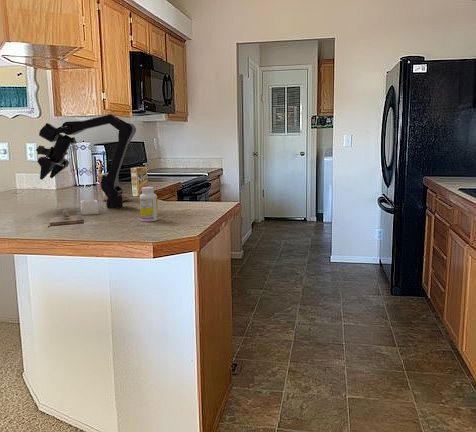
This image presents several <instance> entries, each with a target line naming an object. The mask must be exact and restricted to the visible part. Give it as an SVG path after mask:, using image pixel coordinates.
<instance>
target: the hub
mask: <svg viewBox="0 0 476 432" xmlns="http://www.w3.org/2000/svg"><path fill="white" fill-rule="evenodd" d="M69 213H70V212H69V211H68V210H67V209H65V210H63V211H62V216H55V217H54V216H52V217H48V220H49V221H48V222H49V227H60V226H71V225H73V226H75V225H82V224H83V225H84V224H85V222H84V218H83V216H81V215H78V214H77V215H69Z"/></svg>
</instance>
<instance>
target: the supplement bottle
mask: <svg viewBox="0 0 476 432" xmlns="http://www.w3.org/2000/svg"><path fill="white" fill-rule="evenodd" d="M158 207H159V206H158V195H157V194H156V193H155V187H154V186H148V187H143V188H142V194H141V195H140V196H139V208H140V209H139V210H140V211H139V212H140V220H141V221H142V222H147V223H149V222H156V221H158V220H159V209H158Z"/></svg>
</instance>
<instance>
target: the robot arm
mask: <svg viewBox="0 0 476 432" xmlns="http://www.w3.org/2000/svg"><path fill="white" fill-rule="evenodd" d="M106 125H111V126H112V127H113V128H115V130H118V133H117V134H118V135H117V137H118V143H117V145H116V149H115V152H114V155H113V157H112V160H111V163H110V167H109V170H108V172H107V173H108V174H105V173H104V174H105V175H103V177H102V181H101V183H99V185H100V184H101V185H100V189H101V191H102V192H103V193H104V192H105V193H104V195H105V194H106V196H107V199H106V200H105V205H106V207H105V208H106V209H120V208H123V207H124V206H123V205H124V203H123V202H124V201H122V195H123V194H124V193H123V192H124V189H122V187H121V186H119V185H118V181H119V179H120V178H119V175H120V171H121V167H122V165H123V161H124V158H125V155H126V153H127V149H128V147H129V144H130V143H131V142H132V140H133V138H134V136H135V134H136V132H137V128H136V126H135V125H134V124H133V123H130V122H126V121H124V120H122V119H121V118H119V117H117V116H116V115H115V114H112V113H108V114H107V115H102V116H101V115H100V116H97V117H93V118H90V119H85V120H75V121H74V120H72V121H71V120H70V121H64V122H63V123H62V124H61V126H59V127H55V126H54V125H52V124H51V123H49V122H46V123H45V125H43V126H42V128H40V130H39V132H38V133H39V134H38V137H40V138H42V139H45V140H46V141H48V142H50V143H53V142H54V146H50V147H45V146H44V145H38V147H37V148H36V149H35V151H36V152H37V153H36V155H43V156H39V157H38V159H37V163H38V165H39V166H40V174H39V180H44V179H45V177H47V176H48V175H49V173H50V175H49V178H50V179H54V177H56V176H57V175H58V174H59V173H60V172H62V171H63V170H65V169H66V168H68V167H69V165H70V161H69V160H68V159H66V158H65V156H67V155H68V150H69V148H70V145H72V144H74V145H75V144H77V140H76V136H75V135H77V134H80V133H83V132H84V131H86V130H88V129H94V128H98V127H102V126H106ZM63 134H64V135H63ZM73 135H74V136H73ZM119 182H120V181H119Z"/></svg>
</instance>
